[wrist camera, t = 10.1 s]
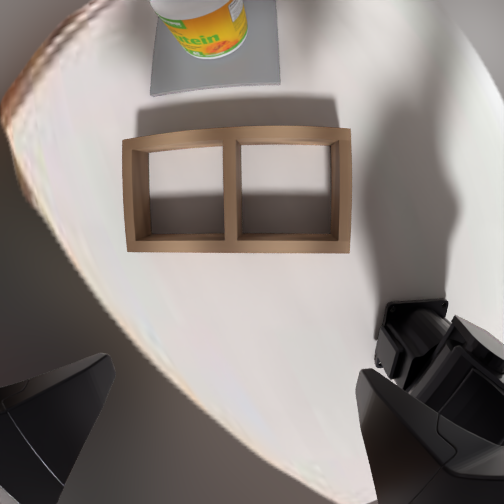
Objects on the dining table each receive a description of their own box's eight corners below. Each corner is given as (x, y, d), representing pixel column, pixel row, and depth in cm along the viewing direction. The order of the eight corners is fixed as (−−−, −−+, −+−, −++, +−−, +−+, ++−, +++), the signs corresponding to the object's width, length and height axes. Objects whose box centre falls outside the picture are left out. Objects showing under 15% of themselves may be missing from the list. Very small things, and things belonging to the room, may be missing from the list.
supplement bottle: (173, 59, 17) (114, -3, 8) (192, 10, 16) (151, -60, 7) (239, 64, 17) (212, -13, 8) (255, 13, 16) (241, -68, 6)
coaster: (274, -7, 16) (274, -11, 15) (280, 84, 18) (280, 82, 17) (162, 6, 16) (160, 3, 16) (152, 96, 19) (149, 94, 18)
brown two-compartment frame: (340, 136, 18) (350, 128, 16) (340, 244, 20) (349, 253, 18) (139, 144, 20) (122, 140, 17) (143, 244, 22) (127, 252, 19)
